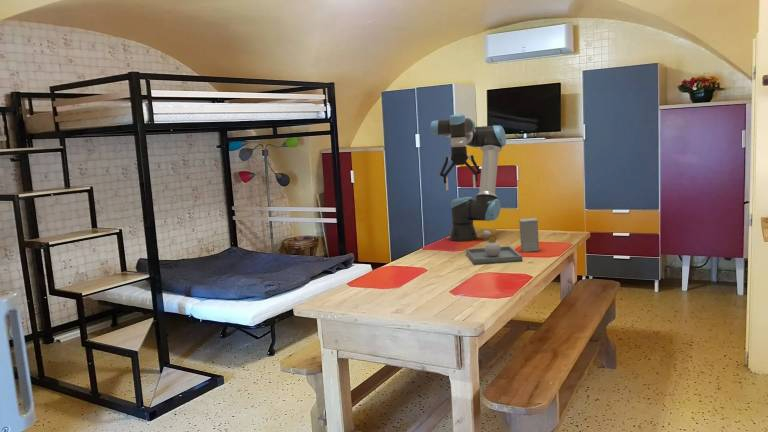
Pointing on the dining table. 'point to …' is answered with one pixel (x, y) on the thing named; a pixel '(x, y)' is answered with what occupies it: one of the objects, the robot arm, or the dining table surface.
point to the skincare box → (529, 234)
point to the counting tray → (504, 256)
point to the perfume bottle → (491, 245)
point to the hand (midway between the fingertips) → (460, 189)
